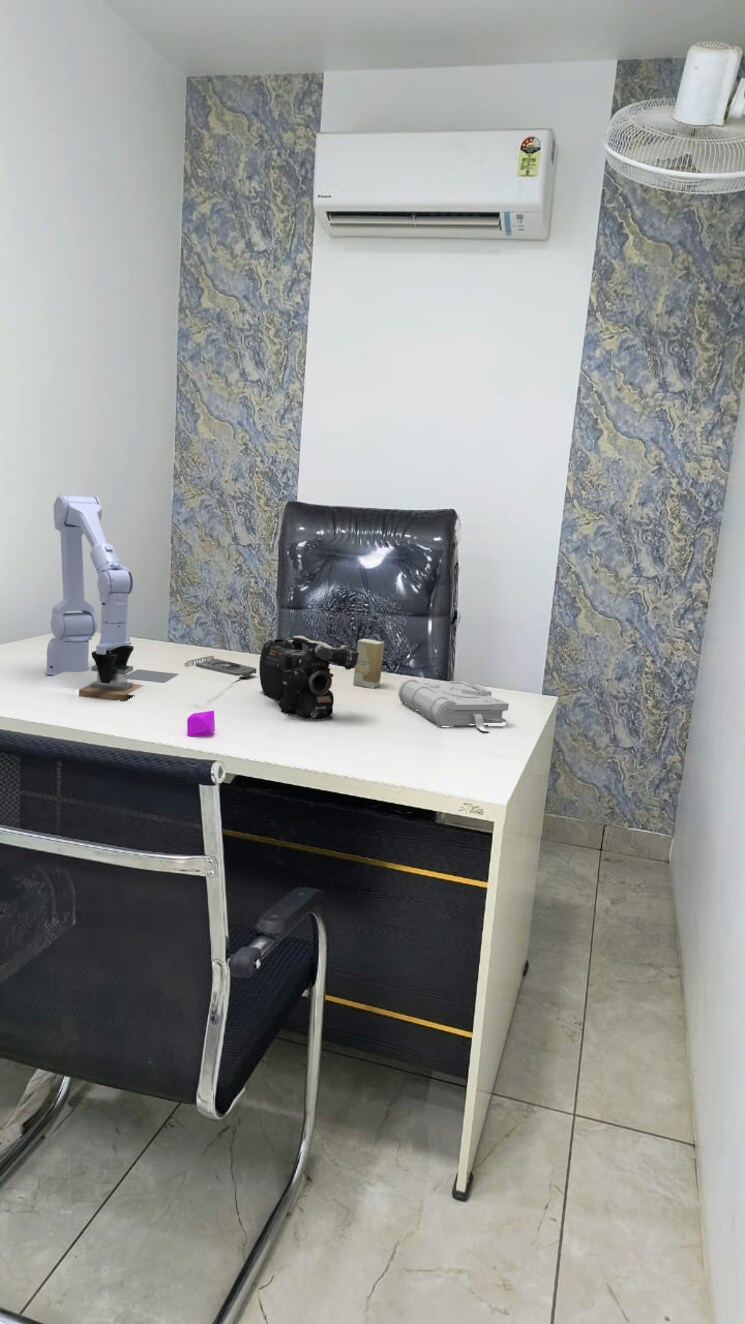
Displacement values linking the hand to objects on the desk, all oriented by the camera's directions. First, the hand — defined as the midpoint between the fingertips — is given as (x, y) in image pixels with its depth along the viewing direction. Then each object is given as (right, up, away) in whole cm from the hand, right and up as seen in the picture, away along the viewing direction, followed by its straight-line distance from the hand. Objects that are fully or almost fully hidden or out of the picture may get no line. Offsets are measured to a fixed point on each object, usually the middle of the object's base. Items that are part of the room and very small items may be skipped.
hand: (112, 679), depth 215 cm
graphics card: (+20, 0, +30) cm, 37 cm away
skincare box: (+59, -2, +32) cm, 67 cm away
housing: (0, -2, 0) cm, 2 cm away
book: (+80, -10, +7) cm, 81 cm away
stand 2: (+5, -1, +15) cm, 16 cm away
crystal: (+25, -11, -25) cm, 37 cm away
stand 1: (0, -3, +1) cm, 3 cm away
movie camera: (+43, -7, +3) cm, 44 cm away
